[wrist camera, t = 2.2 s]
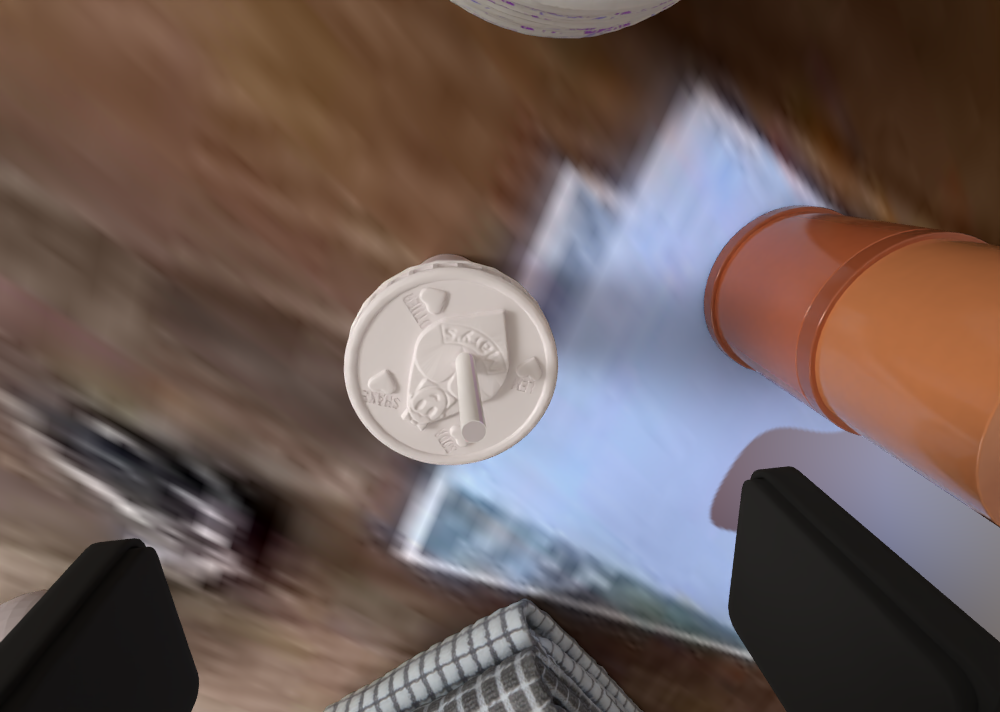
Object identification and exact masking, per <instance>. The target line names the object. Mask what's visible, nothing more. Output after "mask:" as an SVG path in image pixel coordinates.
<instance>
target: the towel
mask: <svg viewBox="0 0 1000 712" xmlns="http://www.w3.org/2000/svg"><path fill="white" fill-rule="evenodd" d="M323 712H644V711H642V710H640V709H639V707H638V706H637V705H636V704H635V703H633V701H632V699H630V698H629V697H628V696H627V695H626V694H625V693H624V691H623V689H622V688H620V687H619V686H618V685H617V684H616V682H615V681H614V680H613V679H612V678H611V677H610V676H608V674H607V672H606V671H605V669H604V668H603V667H602V666H600V665H598V664H597V663H596V661H595V660H594V659H593V658H592V657H590V656H589V655H588V654H587V653H586V652H585V651H584V649H583V648H581V647H580V646H579V645H578V643H577V642H576V641H575V639H574V638H572V637H571V636H570V635H569V634H567V633H566V632H565V631H564V630H563V629H562V628H561V627H560V626H559V625H558V624H557V623H556V622H555V621H554V620H553V619H552V618H551V617H550V615H549V614H548V613H547V612H545V611H543V610H541V609H539V608H538V607H537V606H536V605H535V604H534V603H533V602H531V601H530V600H528V599H522V600H520V601H518V602H516V603H513V604H511V605H509V606H508V607H504V608H500V609H498V610H497V611H495V612H494V613H493V614H491V615H490V616H486V617H484V618H481V619H479V620H477V621H476V623H475V624H472V625H469V626H468V627H465V628H464V629H462V630H461V631H460V632H459V633H456V634H454V635H451V636H449V637H447V638H446V639H445V640H444V641H443V642H438V643H436V644H434V645H432V646H431V647H430V648H429V649H428V650H426V651H423V652H421V653H419V654H417V655H416V656H414V657H413V658H412V659H409V660H407V661H405V662H404V663H402V664H401V665H399V667H398V668H395V669H393V670H392V671H390V672H388V673H386V674H385V676H384V677H380V678H379V679H377V680H374V681H373V682H372V683H371V684H369V685H365V686H363V687H362V688H360V689H358V690H357V691H354V692H352V693H350V694H348V695H346V696H345V697H344V698H342V699H341V700H340V701H339V702H335V703H333V704H331V705H329V706H327V707H326V708H325V710H324V711H323Z"/></svg>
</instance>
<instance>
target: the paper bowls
mask: <svg viewBox="0 0 1000 712" xmlns="http://www.w3.org/2000/svg"><path fill="white" fill-rule="evenodd" d="M450 1H451V2H453V3H454V4H456V5H458V6H460V7H461V8H463V9H465V10H466V11H468V12H469V13H471V14H473V15H475V16H477V17H479V18H481V19H483V20H485V21H487V22H489V23H492V24H495V25H497V26H500V27H503V28H505V29H509V30H513V31H516V32H519V33H523V34H527V35H532V36H539V37H550V38H583V37H592V36H598V35H602V34H605V33H609V32H613V31H618V30H620V29H622V28H625V27H628V26H632V25H635V24H637V23H639V22H641V21H643V20H645V19H647V18H649V17H651V16H654V15H656V14H657V13H659V12H661V11H663V10H665V9H667V8H669V7H671V6H672V5H674V4H676V3H677V2H678V1H680V0H450Z"/></svg>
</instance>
